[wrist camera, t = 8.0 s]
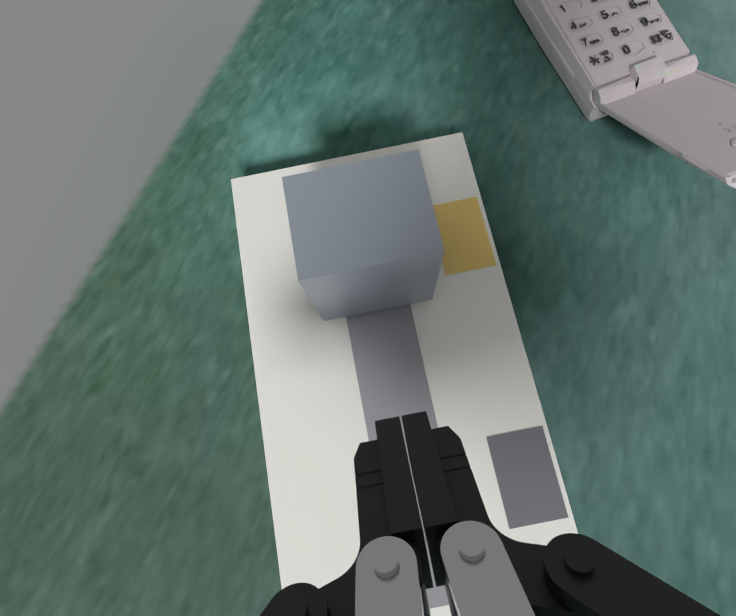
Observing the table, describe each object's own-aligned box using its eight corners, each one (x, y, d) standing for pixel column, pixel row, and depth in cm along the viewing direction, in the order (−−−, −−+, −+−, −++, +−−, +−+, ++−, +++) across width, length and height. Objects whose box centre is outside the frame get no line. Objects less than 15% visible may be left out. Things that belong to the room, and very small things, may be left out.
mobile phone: (729, 192, 18) (466, -201, 25) (648, 250, 24) (452, -82, 30) (866, 140, 18) (570, -235, 25) (753, 210, 24) (537, -110, 31)
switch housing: (457, 155, 26) (462, 131, 24) (582, 602, 20) (603, 620, 18) (243, 198, 26) (230, 178, 24) (303, 656, 20) (292, 681, 18)
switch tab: (413, 220, 22) (418, 149, 17) (432, 299, 21) (444, 251, 16) (310, 241, 22) (281, 177, 17) (323, 321, 21) (298, 280, 16)
